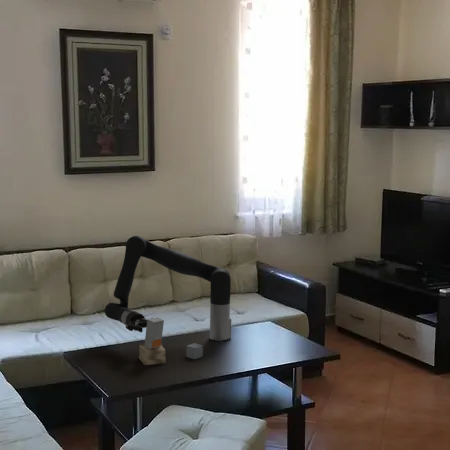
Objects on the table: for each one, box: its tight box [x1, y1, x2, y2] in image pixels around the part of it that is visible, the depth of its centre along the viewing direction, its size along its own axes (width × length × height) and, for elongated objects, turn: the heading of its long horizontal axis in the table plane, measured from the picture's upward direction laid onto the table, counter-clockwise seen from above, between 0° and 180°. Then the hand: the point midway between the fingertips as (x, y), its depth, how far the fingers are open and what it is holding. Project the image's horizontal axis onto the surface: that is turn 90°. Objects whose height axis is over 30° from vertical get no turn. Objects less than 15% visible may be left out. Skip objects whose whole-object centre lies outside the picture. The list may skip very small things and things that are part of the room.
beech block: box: [138, 344, 166, 366], centre depth 291 cm, size 9×9×6 cm
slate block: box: [185, 342, 204, 360], centre depth 298 cm, size 5×5×5 cm
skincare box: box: [143, 317, 165, 349], centre depth 290 cm, size 6×4×12 cm
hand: (150, 328), depth 291 cm, fingers open, 8 cm apart
